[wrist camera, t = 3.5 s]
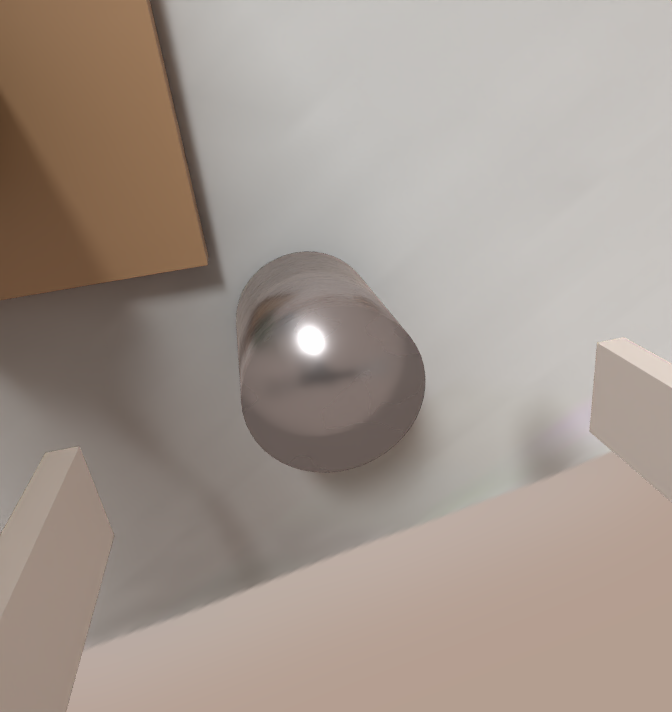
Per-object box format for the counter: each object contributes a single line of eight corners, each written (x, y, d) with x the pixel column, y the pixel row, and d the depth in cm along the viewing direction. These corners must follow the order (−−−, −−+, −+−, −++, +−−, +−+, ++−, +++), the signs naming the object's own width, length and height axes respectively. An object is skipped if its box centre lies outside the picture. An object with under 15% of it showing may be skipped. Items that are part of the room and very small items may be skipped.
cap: (250, 392, 21) (260, 489, 16) (222, 264, 19) (222, 326, 14) (378, 367, 22) (429, 451, 16) (366, 240, 20) (420, 290, 14)
